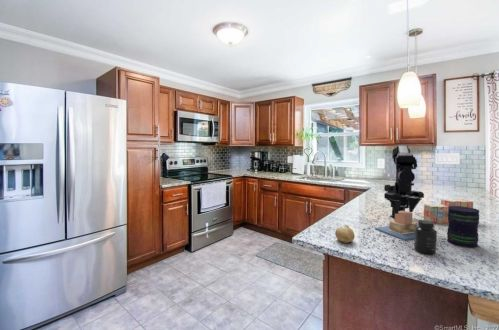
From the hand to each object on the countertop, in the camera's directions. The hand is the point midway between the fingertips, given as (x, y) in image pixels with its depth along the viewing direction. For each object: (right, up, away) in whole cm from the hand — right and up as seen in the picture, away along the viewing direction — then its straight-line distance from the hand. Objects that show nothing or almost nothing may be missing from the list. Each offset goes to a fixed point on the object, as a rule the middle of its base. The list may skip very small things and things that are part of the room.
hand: (403, 212), depth 112 cm
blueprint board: (0, -10, +1) cm, 10 cm away
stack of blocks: (+36, -9, +17) cm, 41 cm away
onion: (-32, -11, -10) cm, 35 cm away
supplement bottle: (-6, -11, -21) cm, 24 cm away
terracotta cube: (0, -5, 0) cm, 5 cm away
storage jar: (+16, -11, -13) cm, 23 cm away
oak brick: (0, -9, +1) cm, 9 cm away
